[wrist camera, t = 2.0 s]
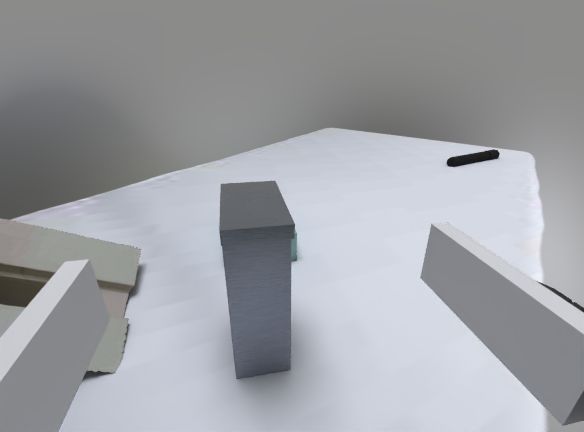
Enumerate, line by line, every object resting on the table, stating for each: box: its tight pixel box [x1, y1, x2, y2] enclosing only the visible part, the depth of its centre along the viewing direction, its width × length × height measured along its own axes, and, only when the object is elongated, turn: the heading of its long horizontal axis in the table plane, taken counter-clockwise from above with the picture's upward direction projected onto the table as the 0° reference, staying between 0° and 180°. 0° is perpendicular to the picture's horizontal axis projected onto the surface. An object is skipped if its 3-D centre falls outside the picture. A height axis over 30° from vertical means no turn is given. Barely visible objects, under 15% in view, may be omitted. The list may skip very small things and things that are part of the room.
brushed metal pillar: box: [219, 181, 295, 379], centre depth 24 cm, size 4×8×14 cm, turn 11°
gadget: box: [447, 150, 500, 167], centre depth 83 cm, size 2×2×20 cm
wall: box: [0, 218, 141, 373], centre depth 28 cm, size 16×9×15 cm
